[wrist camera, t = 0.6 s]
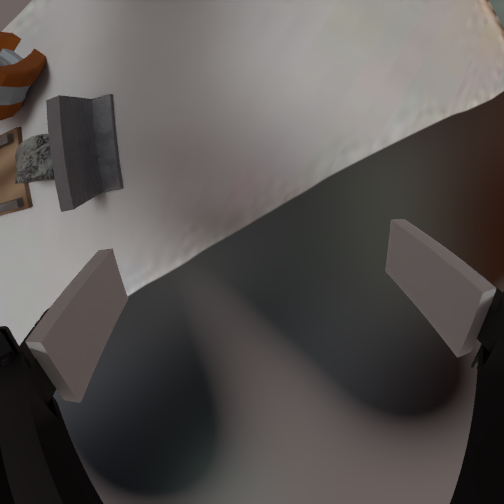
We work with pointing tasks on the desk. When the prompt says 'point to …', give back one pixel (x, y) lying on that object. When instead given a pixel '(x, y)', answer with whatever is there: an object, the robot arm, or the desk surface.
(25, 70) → the alarm clock
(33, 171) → the stone
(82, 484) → the robot arm
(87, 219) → the desk surface
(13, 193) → the brown shallow box
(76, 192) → the angle bracket
